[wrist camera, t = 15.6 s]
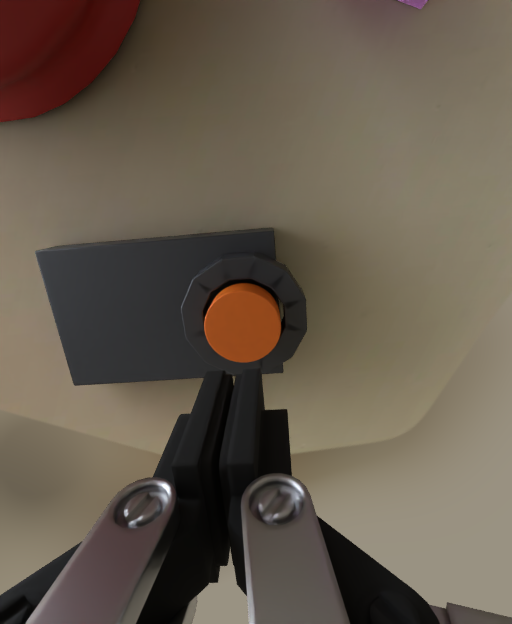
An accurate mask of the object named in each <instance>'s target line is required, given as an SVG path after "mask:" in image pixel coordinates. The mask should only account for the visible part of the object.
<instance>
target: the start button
mask: <svg viewBox="0 0 512 624" xmlns="http://www.w3.org/2000/svg"><path fill="white" fill-rule="evenodd" d="M204 330H205V335H206V338H207V340H208V342H209V344H210V345H211V347H212V348H213V349H214V350H215V351H216V352H217V353H218V354H219V355H221V356H222V357H224V358H226V359H228V360H231V361H235V362H252V361H256V360H259V359H261V358H263V357H265V356H266V355H267V354H269V353H270V352H271V351H272V350H273V349H274V347H275V346H276V344H277V342H278V340H279V337H280V333H281V320H280V312H279V308H278V305H277V303H276V301H275V299H274V298H273V296H272V295H271V294H270V293H269V292H268V291H266V290H265V289H264V288H262V287H260V286H258V285H255V284H251V283H237V284H233V285H230V286H228V287H226V288H224V289H223V290H222V291H220V292H219V293H218V294H217V295H216V297H215V298H214V300H213V302H212V303H211V305H210V307H209V309H208V311H207V313H206V316H205V321H204Z"/></svg>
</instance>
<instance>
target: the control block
mask: <svg viewBox="0 0 512 624" xmlns="http://www.w3.org/2000/svg"><path fill="white" fill-rule="evenodd" d="M35 254H36V257H37V261H38V264H39V267H40V271H41V274H42V278H43V281H44V284H45V288H46V291H47V295H48V298H49V302H50V305H51V308H52V312H53V315H54V319H55V322H56V325H57V329H58V332H59V336H60V339H61V342H62V346H63V349H64V353H65V356H66V360H67V363H68V366H69V370H70V373H71V377H72V380H73V383H74V385H75V386H76V385H92V384H109V383H125V382H141V381H158V380H174V379H190V378H204V377H205V375H206V372H207V371H218V370H225V372H226V375H228V374H232V376H236V374H242V372H243V369H254V368H261V374H272V373H283V362H285V361H287V360H288V359H290V358H291V357H292V356H293V355H294V353H295V351H296V349H297V347H298V346H299V344H300V342H301V340H302V339H303V337H304V335H305V333H306V331H307V316H306V299H305V296H304V293H303V291H302V289H301V287H300V286H299V284H298V283H297V281H296V280H295V278H294V277H293V275H292V274H291V272H290V271H289V270H288V268H287V267H286V265H284V264H282V263H280V262H278V261H276V255H275V240H274V230H273V228H260V229H249V230H237V231H225V232H214V233H202V234H191V235H179V236H167V237H156V238H144V239H132V240H121V241H109V242H98V243H86V244H74V245H63V246H55V247H50V248H46V249H42V250H37V251H35ZM237 283H251V284H255V285H258V286H260V287H262V288H264V289H265V290H266V291H268V292H269V293H270V294H271V295H272V296H273V298H274V299H275V301H276V303H277V305H278V308H279V300H280V301H281V302H282V304H283V310H284V317H283V319H282V321H281V333H280V337H279V340H278V342H277V344H276V346H275V347H274V349H273V350H272V351H271V352H270V353H269V354H267V355H266V356H265V357H263V358H261V359H259V360H256V361H252V362H235V361H231V360H228V359H226V358H224V357H222V356H221V355H219V354H218V353H217V352H216V351H215V350H214V349H213V348H212V347H211V345H210V344H209V342H208V340H207V338H206V335H205V330H204V321H205V316H206V313H207V311H208V309H209V307H210V305H211V303H212V302H213V300H214V298H215V297H216V295H217V294H218V293H219V292H220V291H222V290H223V289H224V288H226V287H228V286H230V285H233V284H237ZM278 298H279V299H278Z"/></svg>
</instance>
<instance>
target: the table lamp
mask: <svg viewBox="0 0 512 624" xmlns="http://www.w3.org/2000/svg"><path fill="white" fill-rule="evenodd" d="M139 3H140V0H0V122H6V121H12V120H19V119H25V118H32V117H36V116H38V115H40V114H43V113H45V112H47V111H49V110H52V109H54V108H56V107H58V106H60V105H63V104H65V103H66V102H67V101H69V100H70V99H71V98H72V97H74V96H75V95H76V94H78V93H79V92H80V91H81V90H83V89H84V88H85V87H86V86H88V85H89V84H90V83H92V82H93V80H94V79H95V78H96V77H97V76H98V74H99V73H100V72H101V71H102V70H103V68H104V67H105V66H106V65H107V64H108V62H109V61H110V60H111V59H112V58H113V57H114V55H115V54H116V53H117V51H118V49H119V47H120V45H121V43H122V41H123V39H124V38H125V36H126V34H127V32H128V30H129V28H130V26H131V24H132V22H133V21H134V19H135V16H136V13H137V9H138V6H139Z"/></svg>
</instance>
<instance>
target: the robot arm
mask: <svg viewBox="0 0 512 624" xmlns="http://www.w3.org/2000/svg"><path fill="white" fill-rule="evenodd" d="M230 548H231V554H232V561H233V565H234V567H235V574H236V581H237V585H238V586H239V587H240V588H241V590H242V591H243V592H244V593H245V594H246V596H247V600H248V613H249V614H248V615H249V624H512V618H511V617H507V616H503V615H498V614H494V613H490V612H485V611H482V610H477V609H473V608H469V607H465V606H461V605H456V604H452V603H447V606H446V609H445V608H441V607H436V606H432V605H429V604H428V603H427V602H426V601H425V600H424V599H423V598H422V597H421V596H420V595H419V594H418V593H417V592H416V591H415V590H413V589H412V588H411V587H409V586H408V585H407V584H405V583H404V582H403V581H402V580H400V579H399V578H397V577H396V576H395V575H394V574H392V573H391V572H390V571H388V570H387V569H386V568H384V567H383V566H382V565H381V564H379V563H378V562H377V561H375V560H374V559H373V558H371V557H370V556H369V555H368V554H366V553H365V552H364V551H362V550H361V549H360V548H358V547H357V546H356V545H354V544H353V543H352V542H351V541H349V540H348V539H347V538H345V537H344V536H343V535H341V534H340V533H339V532H337V531H336V530H335V529H334V528H332V527H331V526H330V525H328V524H327V523H326V522H324V521H323V520H322V519H321V518H319V517H318V516H317V515H316V512H315V509H314V505H313V503H312V499H311V496H310V493H309V492H308V490H307V488H306V486H305V485H304V484H303V483H302V482H301V481H300V480H298V479H296V478H294V477H292V472H291V458H290V443H289V428H288V413H287V409H280V410H265V407H264V396H263V385H262V375H261V368H254V369H243V372H242V374H236V378H235V383H234V385H233V378H232V374H228V375H226V372H225V370H218V371H207V372H206V375H205V377H204V380H203V383H202V385H201V388H200V390H199V393H198V396H197V398H196V401H195V404H194V406H193V409H192V412H191V414H181V415H180V416H179V417H178V419H177V422H176V424H175V426H174V429H173V431H172V433H171V436H170V438H169V440H168V443H167V445H166V447H165V450H164V452H163V454H162V457H161V459H160V461H159V464H158V466H157V468H156V471H155V473H154V476H153V478H145V479H141V480H138V481H135V482H133V483H131V484H129V485H128V486H126V487H125V488H123V489H122V490H121V491H119V492H118V493H117V495H116V496H115V497H114V498H113V499H112V500H111V501H110V503H109V504H108V506H107V507H106V509H105V510H104V512H103V513H102V514H101V516H100V517H99V519H98V520H97V521H96V523H95V524H94V526H93V527H92V529H91V530H90V531H89V533H88V534H87V536H86V537H85V539H84V540H83V541H82V542H80V543H79V544H77V545H76V546H75V547H73V548H71V549H70V550H68V551H67V552H65V553H64V554H62V555H61V556H59V557H58V558H56V559H55V560H53V561H52V562H50V563H49V564H47V565H45V566H44V567H42V568H41V569H39V570H38V571H36V572H35V573H34V574H32V575H30V576H29V577H27V578H26V579H24V580H23V581H21V582H20V583H18V584H17V585H15V586H14V587H12V588H11V589H9V590H8V591H6V592H4V593H3V594H2V595H0V624H192V621H193V617H194V615H195V611H196V606H197V595H198V594H199V593H200V592H201V591H202V590H203V589H204V588H205V587H206V586H207V585H208V584H209V583H217V582H218V578H219V571H220V566H227V564H228V559H229V551H230Z"/></svg>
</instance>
